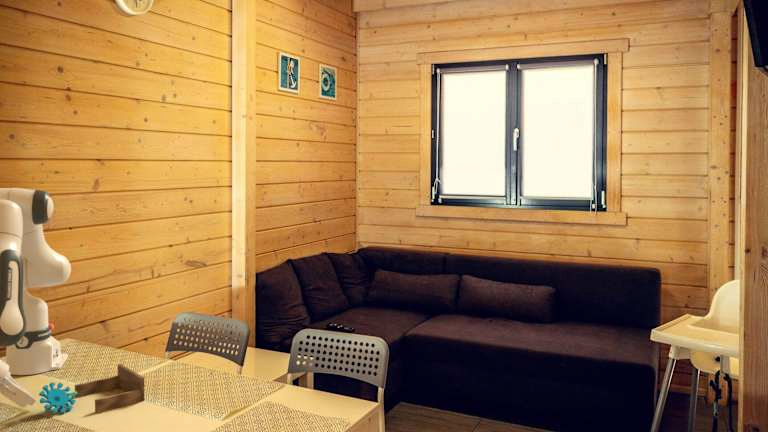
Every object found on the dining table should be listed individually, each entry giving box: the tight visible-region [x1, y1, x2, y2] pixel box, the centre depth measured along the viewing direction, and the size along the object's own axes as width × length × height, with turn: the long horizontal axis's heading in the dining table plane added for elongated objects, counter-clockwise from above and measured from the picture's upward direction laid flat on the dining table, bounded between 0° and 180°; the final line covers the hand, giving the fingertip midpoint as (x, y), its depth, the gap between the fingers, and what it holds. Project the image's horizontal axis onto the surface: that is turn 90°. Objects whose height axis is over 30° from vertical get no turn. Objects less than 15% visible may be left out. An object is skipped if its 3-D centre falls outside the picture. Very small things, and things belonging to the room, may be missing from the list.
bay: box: [74, 363, 145, 413], centre depth 196 cm, size 14×17×7 cm
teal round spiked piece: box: [38, 381, 77, 415], centre depth 187 cm, size 11×6×10 cm
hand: (32, 401), depth 181 cm, fingers closed
